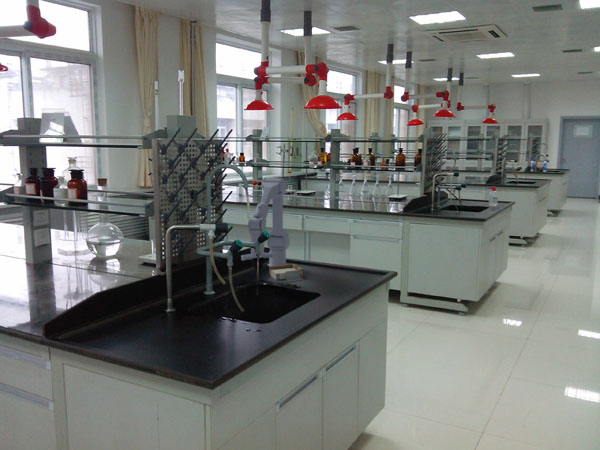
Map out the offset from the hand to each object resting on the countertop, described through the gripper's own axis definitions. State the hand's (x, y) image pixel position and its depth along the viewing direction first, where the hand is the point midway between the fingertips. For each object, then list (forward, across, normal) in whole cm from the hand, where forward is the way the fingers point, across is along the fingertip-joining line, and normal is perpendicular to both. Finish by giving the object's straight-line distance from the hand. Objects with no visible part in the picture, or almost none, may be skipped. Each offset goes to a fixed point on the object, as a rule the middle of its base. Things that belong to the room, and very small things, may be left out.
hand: (258, 274), depth 231 cm
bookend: (+2, +15, -7) cm, 16 cm away
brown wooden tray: (+2, +13, 0) cm, 13 cm away
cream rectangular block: (+2, +13, 0) cm, 13 cm away
